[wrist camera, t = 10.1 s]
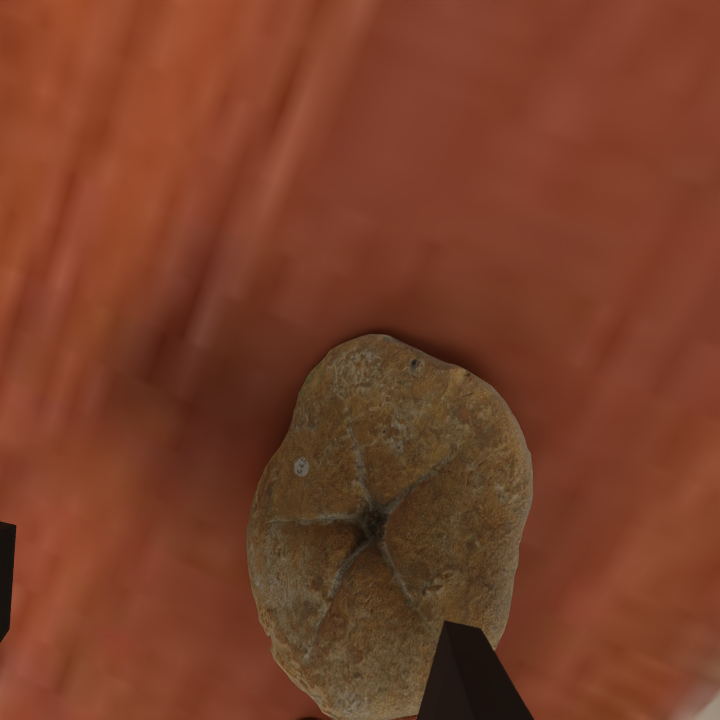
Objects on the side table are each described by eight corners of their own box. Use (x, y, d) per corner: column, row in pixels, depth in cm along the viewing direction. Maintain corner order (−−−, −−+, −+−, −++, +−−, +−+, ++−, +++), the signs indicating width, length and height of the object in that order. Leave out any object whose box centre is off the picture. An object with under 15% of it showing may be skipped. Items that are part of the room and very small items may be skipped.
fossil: (573, 401, 14) (416, 822, 15) (636, 422, 17) (506, 765, 18) (303, 304, 20) (199, 608, 20) (388, 334, 23) (297, 594, 24)
